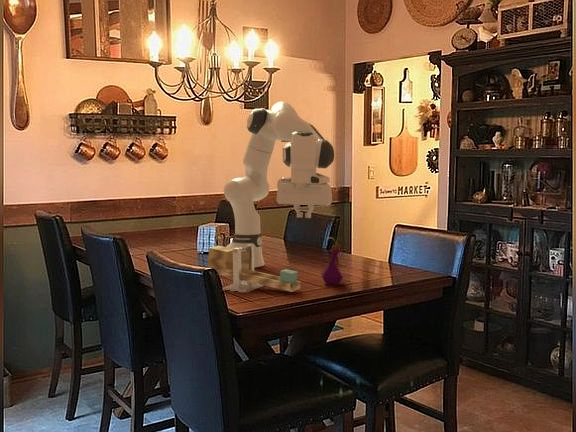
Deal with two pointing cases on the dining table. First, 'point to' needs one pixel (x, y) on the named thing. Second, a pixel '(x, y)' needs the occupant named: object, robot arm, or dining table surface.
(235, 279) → the stand
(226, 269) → the beam
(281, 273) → the block
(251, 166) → the robot arm
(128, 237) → the dining table surface
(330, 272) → the purple vase
